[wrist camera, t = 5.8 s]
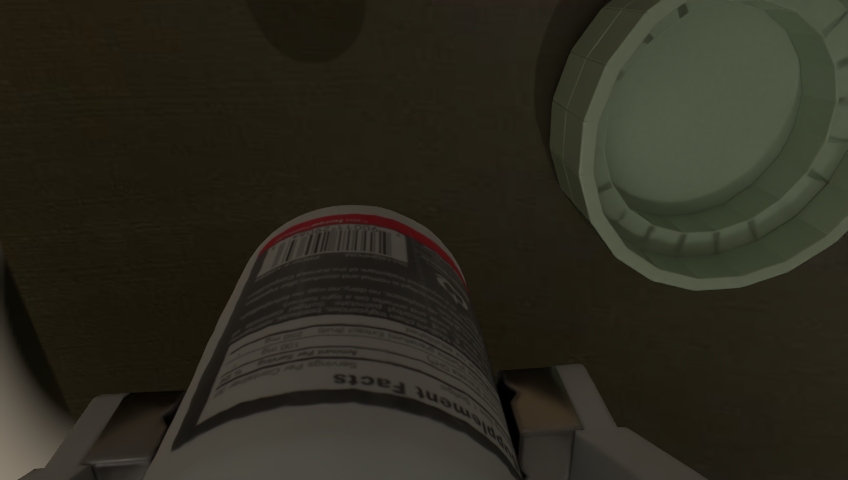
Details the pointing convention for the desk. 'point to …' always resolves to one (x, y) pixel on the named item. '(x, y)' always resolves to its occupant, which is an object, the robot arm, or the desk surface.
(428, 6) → the desk surface
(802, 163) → the bowl
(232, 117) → the desk surface
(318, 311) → the pill bottle
